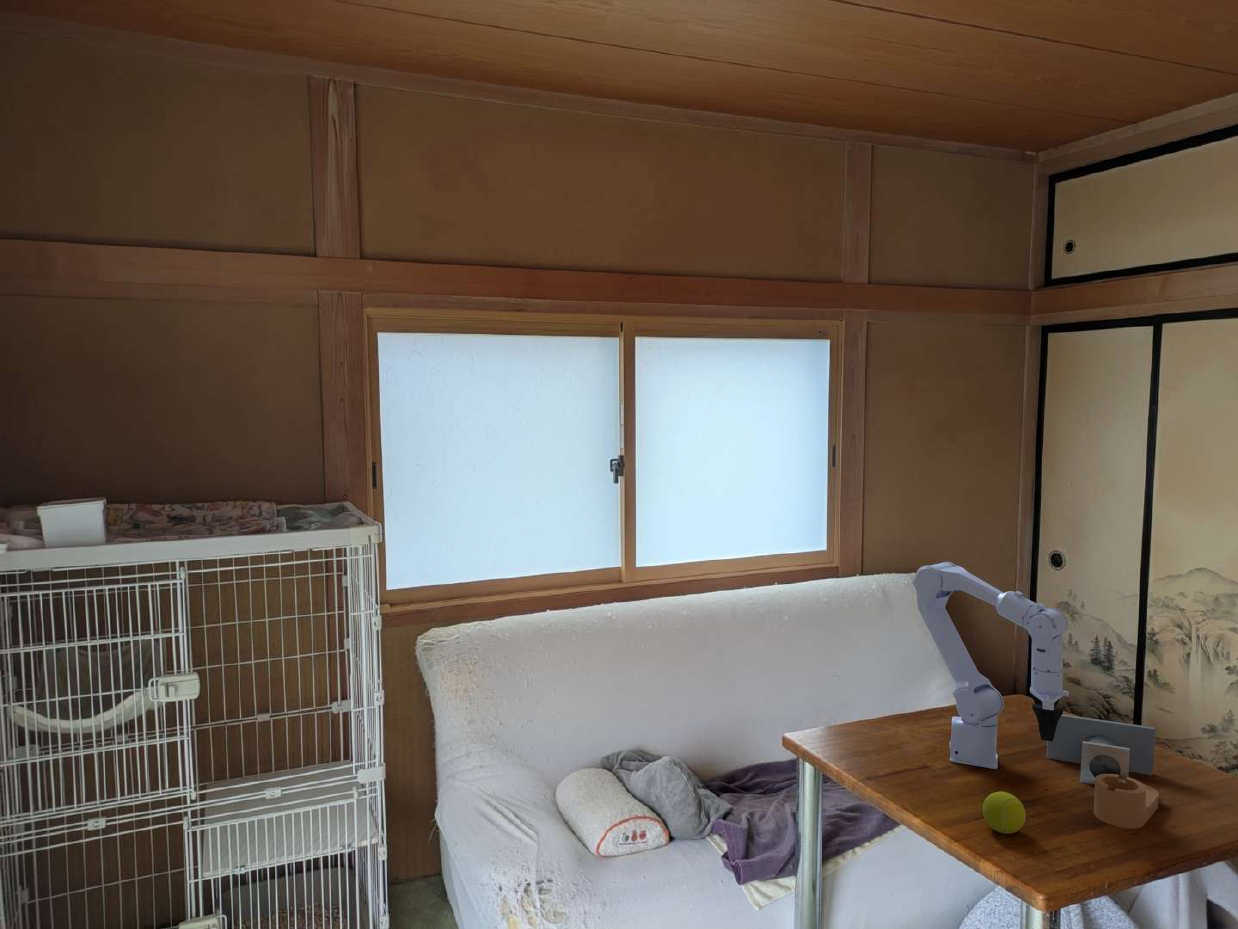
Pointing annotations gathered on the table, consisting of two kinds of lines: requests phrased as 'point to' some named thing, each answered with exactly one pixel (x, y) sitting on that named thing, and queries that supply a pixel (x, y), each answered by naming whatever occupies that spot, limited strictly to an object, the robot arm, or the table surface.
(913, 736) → the table surface
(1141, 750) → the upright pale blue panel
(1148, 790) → the bracket
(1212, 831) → the table surface
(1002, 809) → the tennis ball
